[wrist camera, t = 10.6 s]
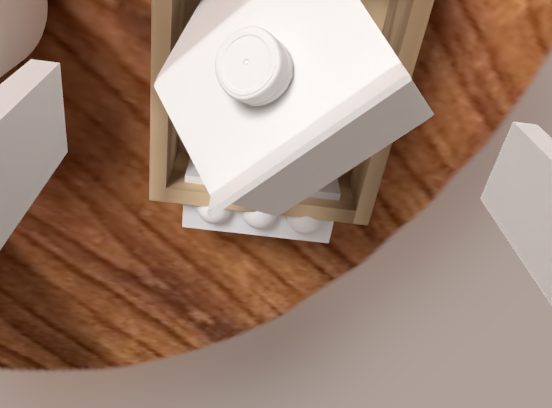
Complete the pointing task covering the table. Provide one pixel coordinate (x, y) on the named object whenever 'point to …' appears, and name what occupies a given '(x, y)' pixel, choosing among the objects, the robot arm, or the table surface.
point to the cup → (20, 30)
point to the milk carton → (284, 97)
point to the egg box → (260, 217)
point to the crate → (349, 209)
